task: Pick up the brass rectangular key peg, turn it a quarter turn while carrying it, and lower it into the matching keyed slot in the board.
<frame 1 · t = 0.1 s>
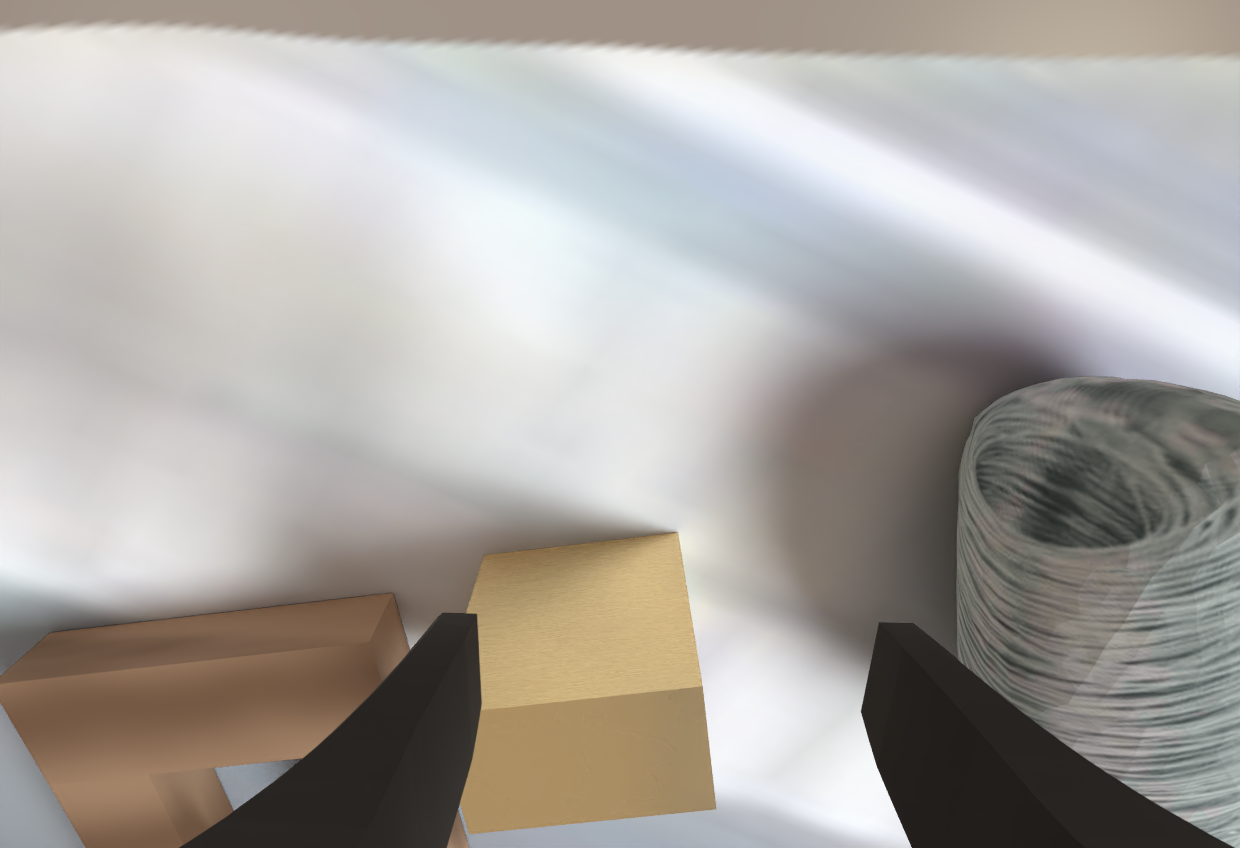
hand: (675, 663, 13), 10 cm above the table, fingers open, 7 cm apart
key peg: (589, 594, 24), on the table
grey cylinder: (1037, 538, 24), on the table
slot board: (291, 785, 27), on the table
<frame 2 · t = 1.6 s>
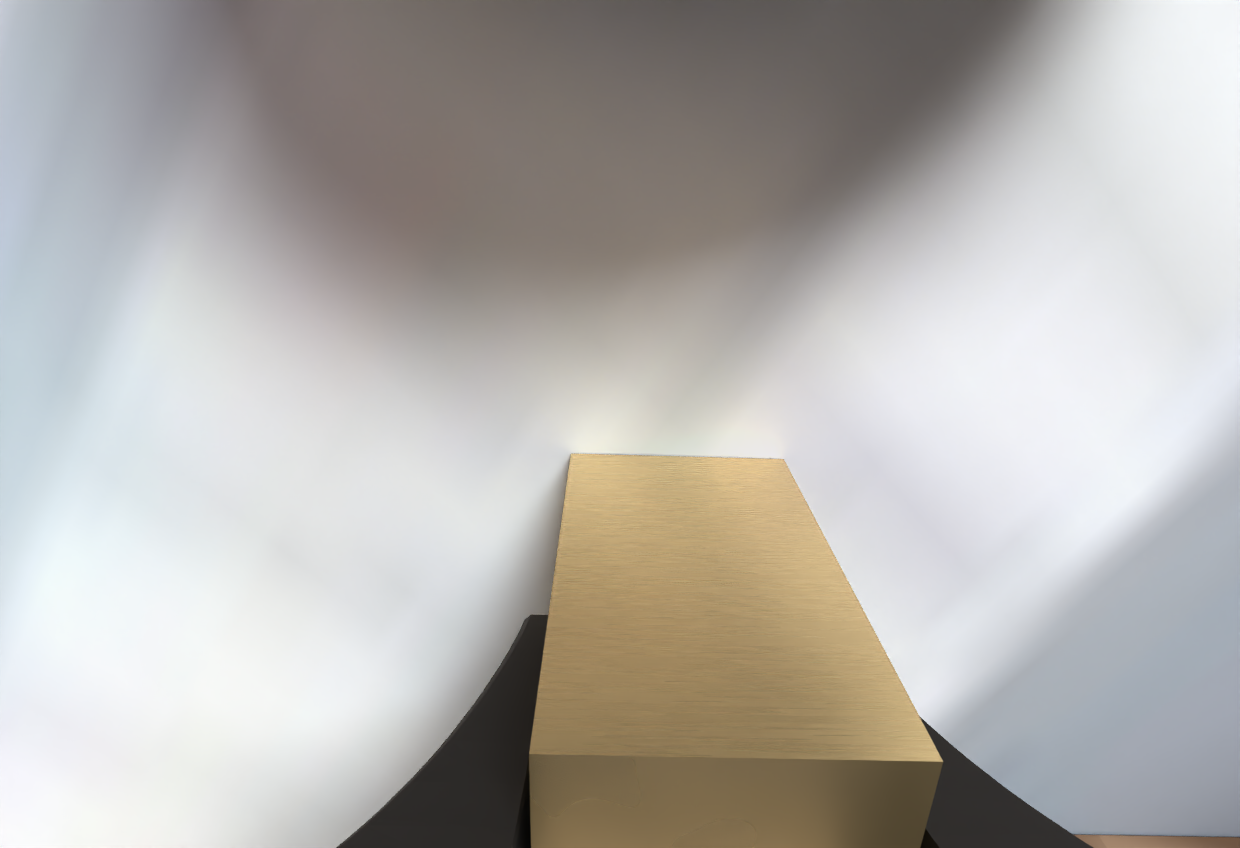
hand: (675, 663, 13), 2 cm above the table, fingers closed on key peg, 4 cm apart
key peg: (667, 599, 15), on the table, touching gripper
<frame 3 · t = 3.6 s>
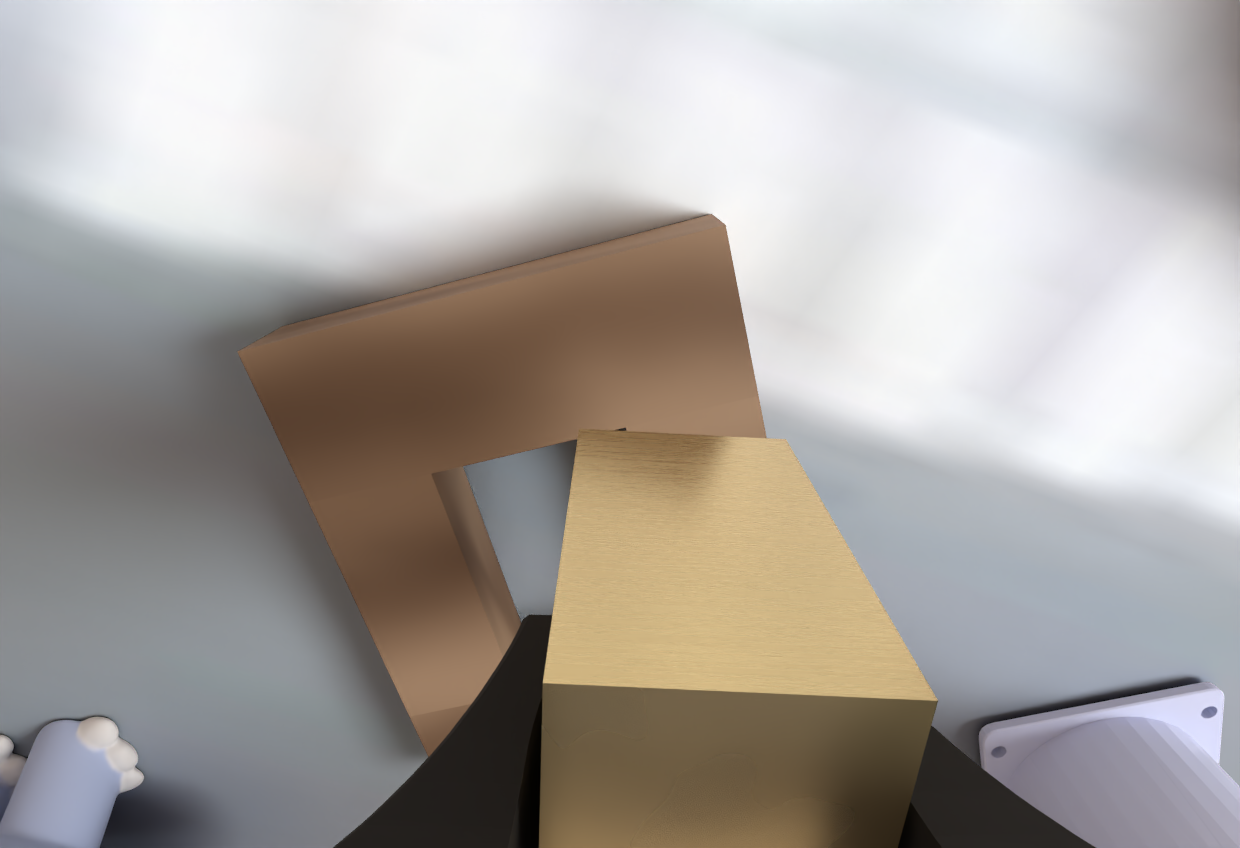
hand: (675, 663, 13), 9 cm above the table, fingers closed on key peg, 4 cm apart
key peg: (669, 576, 15), point 7 cm above the table, touching gripper
slot board: (572, 525, 22), on the table
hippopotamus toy: (128, 821, 27), on the table
when the fingers open (3 cm above the table, at t = 5.4 s): key peg stays where it is, resting in slot board.
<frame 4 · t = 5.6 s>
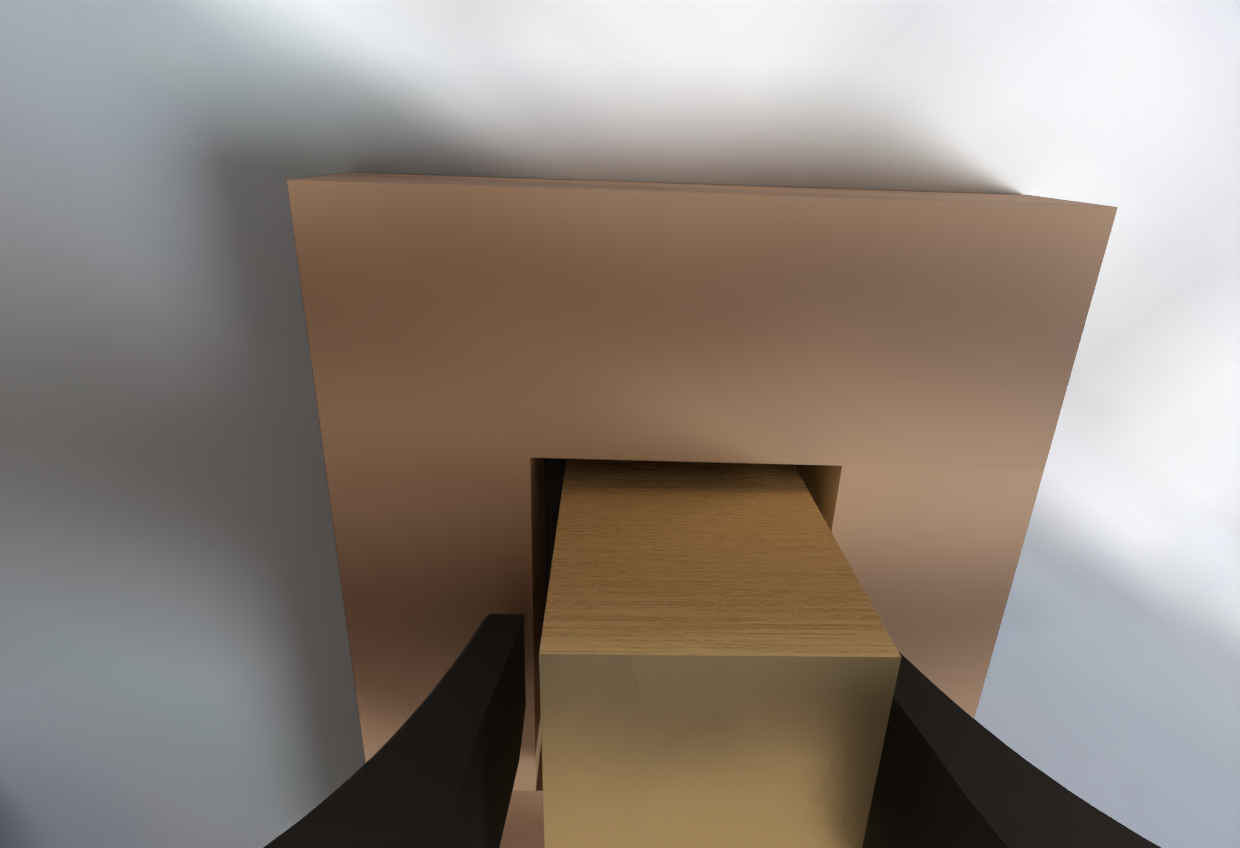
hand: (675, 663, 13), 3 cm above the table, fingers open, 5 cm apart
key peg: (664, 557, 16), resting in slot board
slot board: (664, 569, 16), on the table
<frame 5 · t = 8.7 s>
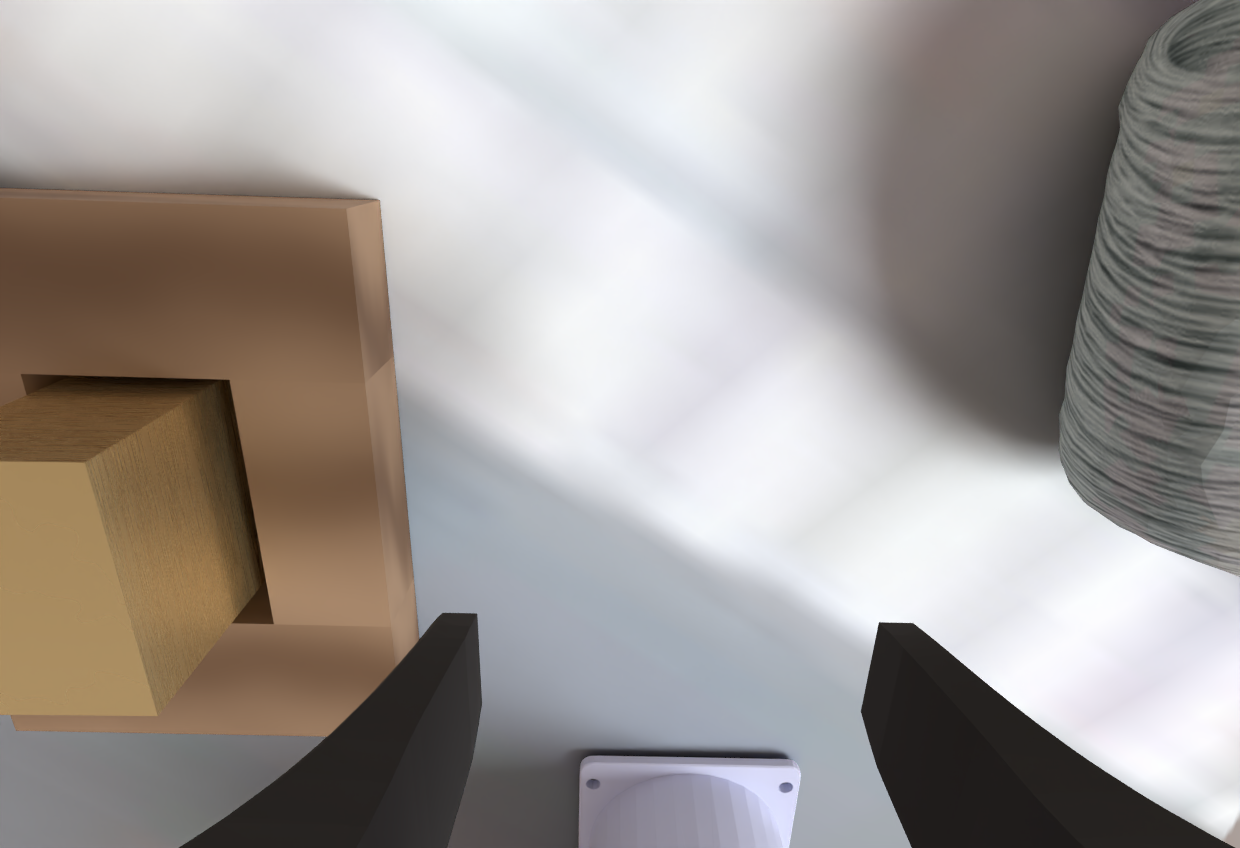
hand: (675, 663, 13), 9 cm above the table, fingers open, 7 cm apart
key peg: (205, 460, 22), resting in slot board
grey cylinder: (1163, 261, 20), on the table
slot board: (205, 468, 22), on the table
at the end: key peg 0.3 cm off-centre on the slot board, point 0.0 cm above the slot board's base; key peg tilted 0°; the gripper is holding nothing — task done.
